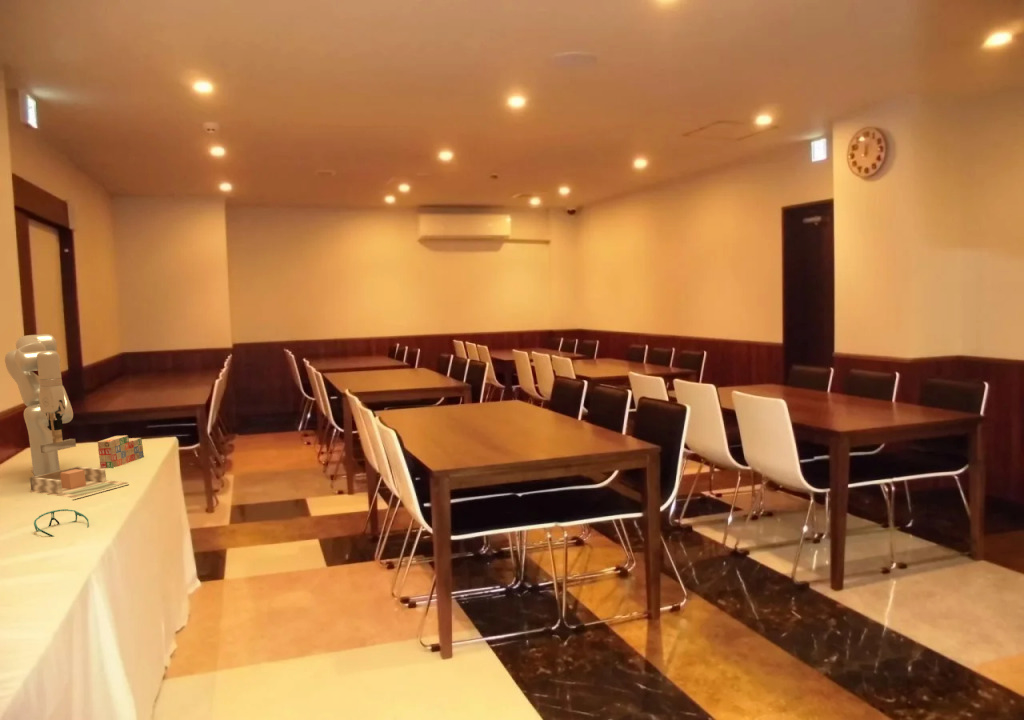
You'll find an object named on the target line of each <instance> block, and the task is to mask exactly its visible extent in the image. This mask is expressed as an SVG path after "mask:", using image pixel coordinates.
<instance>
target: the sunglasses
mask: <svg viewBox="0 0 1024 720" xmlns="http://www.w3.org/2000/svg"><path fill="white" fill-rule="evenodd" d="M57 512H74V515H75V520H73V521H71V523H76V522H77V521H78V516H79V517H82V518H84V519H85V520H86V521H87V522H86V523H87V528H90V527H89V525H90V524H89V523H90V522H89V519H88V517H87V516H86V515H84V514H83V513H82V512H78V511H76V510H72V509H65V508H64V509H56V510H51V511H47V512H44V513H42V514H41V515H38V517H37V518H35V519H34V521H33V525H34V529H35V531H36V532H40V533H43V534H45V535H46V536H48V537H50V538H51V537H55V535H53V534H52V533H49V532H47V531H45V530H44V529H41V528H40V527H38V525H37V521H38V520H39V519H40V518H42V517H44V516H46V515H49V514H50V515H51V517H50V521H49V523H48V526H47V528H49V527H51V526H52V522H53V521H55V522H56V523H57V525H61V523H60V522H59V521H58V519H57V518H55V513H57ZM69 523H70V521H69V522H68V524H69Z"/></svg>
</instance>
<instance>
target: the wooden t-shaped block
mask: <svg viewBox="0 0 1024 720" xmlns="http://www.w3.org/2000/svg"><path fill="white" fill-rule="evenodd" d="M58 411H59V410H57V411H56V412H58ZM49 414H50V421H51V429H52V430H51V431H52V438H53V443H48V444H43V445H40V448H41V453H49V452H53V451H62V450H65V449H71V448H75V447H77V444H76V438H69V439H64V440H63V432H62V429H61V430H54V424H53V420H54V416H53V413H49ZM57 414H58V413H56V415H57Z"/></svg>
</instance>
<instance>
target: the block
mask: <svg viewBox="0 0 1024 720" xmlns="http://www.w3.org/2000/svg"><path fill="white" fill-rule="evenodd" d="M60 477H61V483H62V488H66V489H73V488H77V487H81V486H85V485H86V480H85V471H84V470H78V469H74V470H70V471H66V472H62V473H60Z"/></svg>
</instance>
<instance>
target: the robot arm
mask: <svg viewBox="0 0 1024 720" xmlns="http://www.w3.org/2000/svg"><path fill="white" fill-rule="evenodd" d="M15 348H16V349H13V350H9V351H8V352H7V353H6V354H5V356H4V363H5V364H4V365H5V367H6V370H7V372H8V374H9V375H10V377H11V378H12V380H13V381H14V382H15V383H16V385H17V387H18V391H19V394H20V397H21V399H22V402H23V404H24V405H25V406H26V408H25V409H24V410H23V419H24V423H25V424H26V429H27V433H28V441H29V447H30V456H31V464H32V465H31V466H32V469H31V471H30V472H31V473H32V474H33V475H32V476H30V478H32V477H36V476H40V475H44V474H48V473H53V472H57V471H61V468H60V460H59V452H58V451H59V450H58V451H53V452H49V453H41V448H40V445H43V444H48V443H53V438H52V429H51V421H50V414H49V413H53V416H54V420H53V424H54V430H61V431H62V430H63V429H64V426H63V424H68V423H70V422H71V421H72V420H73V418H74V412H73V408H72V405H71V404H72V403H71V401H70V400H69V396H68V393H67V391H66V389H65V386H64V385H63V380H62V378H63V377H62V372H61V356H60V354H59V352H58V351H57V350H58V342H57V340H56V338H55V337H54V336H53V335H52V334H51V333H50V334H49V333H42V334H41V333H40V334H29V335H28V334H27V335H24V336H21V337H19V338H18V339H17V340H16V343H15ZM35 371H37V373H38V374H36V373H35ZM57 410H59V411H58V412H56V411H57ZM56 413H58V414H57V415H56ZM30 478H29V479H30Z"/></svg>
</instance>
